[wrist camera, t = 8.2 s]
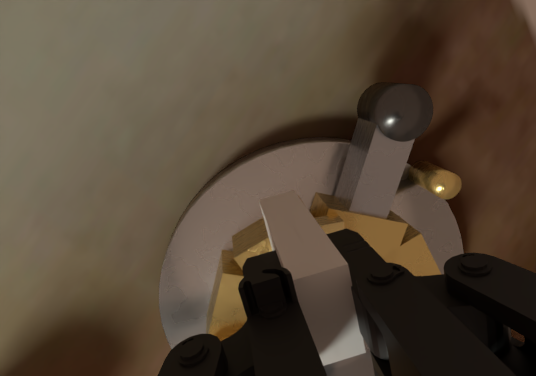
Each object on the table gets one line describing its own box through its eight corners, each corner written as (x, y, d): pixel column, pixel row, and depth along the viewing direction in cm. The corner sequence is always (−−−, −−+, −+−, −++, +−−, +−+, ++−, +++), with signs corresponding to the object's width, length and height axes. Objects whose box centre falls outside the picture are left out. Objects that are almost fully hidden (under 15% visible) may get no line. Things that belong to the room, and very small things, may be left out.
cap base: (408, 396, 33) (460, 484, 26) (153, 395, 30) (134, 496, 23) (483, 156, 27) (577, 187, 20) (174, 116, 24) (156, 136, 17)
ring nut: (382, 392, 30) (407, 441, 26) (192, 374, 27) (188, 426, 23) (494, 112, 24) (550, 120, 20) (268, 49, 21) (280, 45, 17)
